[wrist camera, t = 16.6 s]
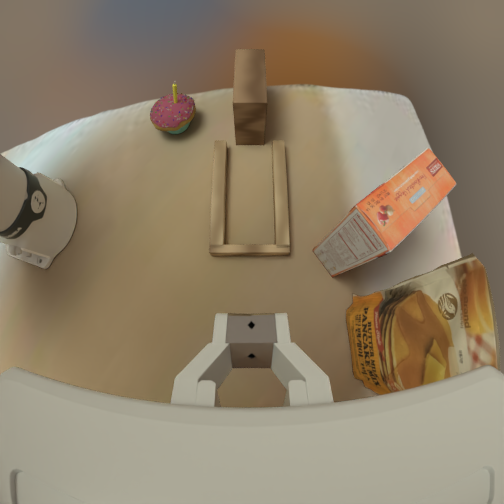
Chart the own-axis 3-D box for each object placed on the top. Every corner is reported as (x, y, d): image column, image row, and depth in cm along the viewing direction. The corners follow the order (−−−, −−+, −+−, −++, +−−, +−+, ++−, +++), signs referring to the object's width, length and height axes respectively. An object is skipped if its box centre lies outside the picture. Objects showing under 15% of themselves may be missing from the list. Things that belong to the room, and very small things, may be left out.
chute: (211, 255, 44) (209, 252, 42) (216, 148, 48) (214, 140, 45) (287, 255, 44) (289, 252, 42) (282, 148, 48) (284, 140, 46)
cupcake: (195, 104, 50) (185, 63, 38) (202, 135, 49) (192, 93, 37) (155, 116, 50) (137, 78, 38) (159, 148, 48) (138, 110, 36)
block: (236, 145, 48) (232, 102, 36) (237, 91, 51) (235, 49, 39) (263, 145, 48) (267, 102, 36) (262, 91, 51) (264, 49, 39)
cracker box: (367, 203, 46) (429, 144, 26) (387, 230, 45) (460, 185, 25) (309, 248, 45) (354, 202, 24) (331, 278, 44) (393, 254, 23)
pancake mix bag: (374, 280, 44) (499, 244, 16) (387, 386, 40) (500, 439, 13) (338, 288, 43) (452, 258, 16) (352, 397, 40) (452, 474, 12)
